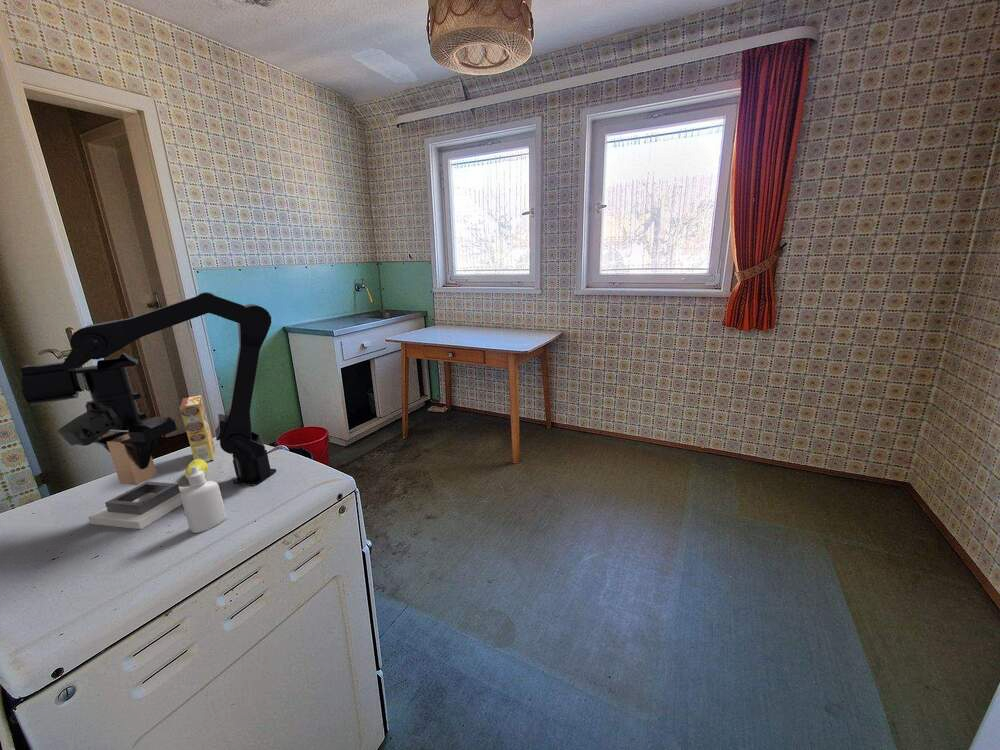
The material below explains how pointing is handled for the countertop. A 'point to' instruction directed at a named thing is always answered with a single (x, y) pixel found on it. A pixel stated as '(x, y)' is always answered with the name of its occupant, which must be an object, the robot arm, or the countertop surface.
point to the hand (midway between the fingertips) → (135, 467)
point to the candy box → (197, 428)
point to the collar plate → (140, 505)
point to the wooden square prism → (128, 463)
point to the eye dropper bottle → (202, 502)
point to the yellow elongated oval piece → (199, 464)
